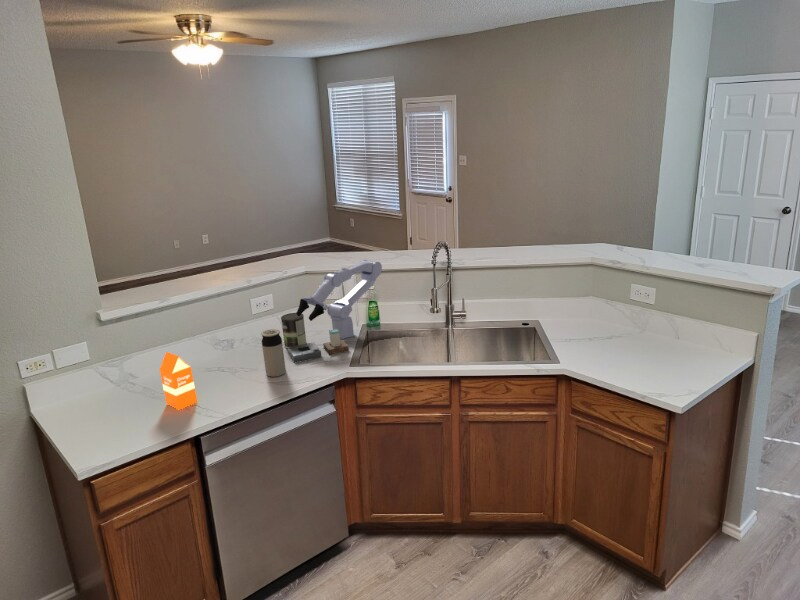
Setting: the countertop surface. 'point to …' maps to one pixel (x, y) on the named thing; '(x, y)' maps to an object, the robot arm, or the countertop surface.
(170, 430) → the countertop surface
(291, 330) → the coffee can
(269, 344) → the travel mug
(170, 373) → the orange juice
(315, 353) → the port panel
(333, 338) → the plug
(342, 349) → the wooden square frame
